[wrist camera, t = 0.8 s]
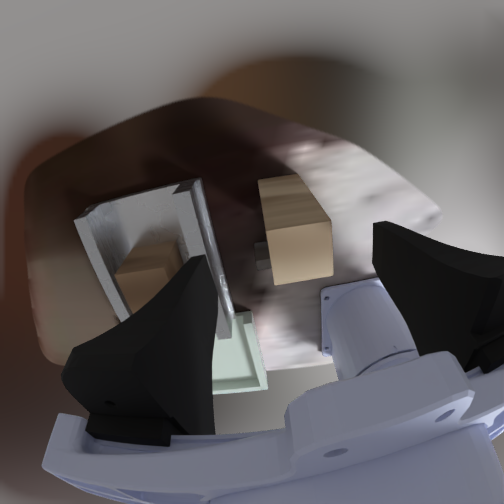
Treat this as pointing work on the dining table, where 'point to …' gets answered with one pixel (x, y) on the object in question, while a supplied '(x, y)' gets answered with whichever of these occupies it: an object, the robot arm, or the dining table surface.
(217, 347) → the tray
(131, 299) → the walnut block
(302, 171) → the dining table surface
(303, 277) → the tan block
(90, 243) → the silver metal tray
